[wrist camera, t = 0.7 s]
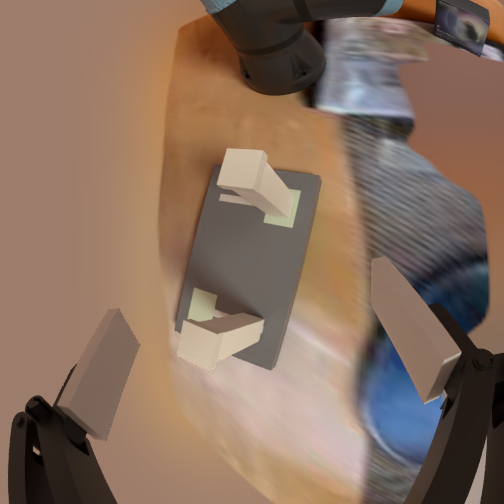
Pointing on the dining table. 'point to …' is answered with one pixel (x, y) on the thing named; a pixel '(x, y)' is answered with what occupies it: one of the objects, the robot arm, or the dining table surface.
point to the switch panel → (249, 262)
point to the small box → (462, 24)
